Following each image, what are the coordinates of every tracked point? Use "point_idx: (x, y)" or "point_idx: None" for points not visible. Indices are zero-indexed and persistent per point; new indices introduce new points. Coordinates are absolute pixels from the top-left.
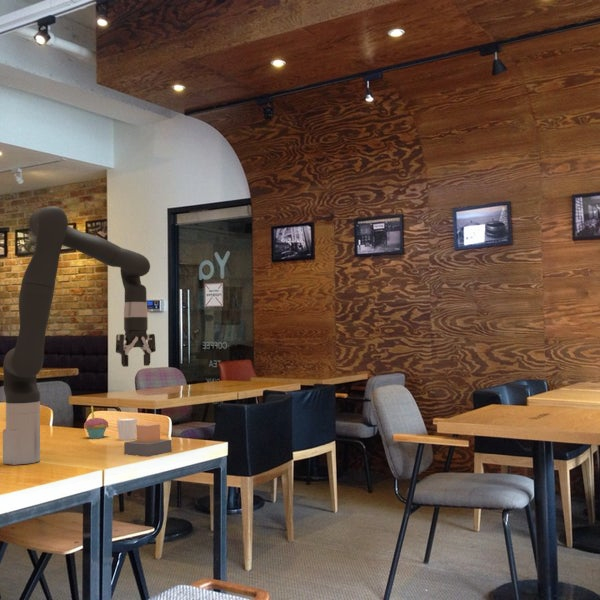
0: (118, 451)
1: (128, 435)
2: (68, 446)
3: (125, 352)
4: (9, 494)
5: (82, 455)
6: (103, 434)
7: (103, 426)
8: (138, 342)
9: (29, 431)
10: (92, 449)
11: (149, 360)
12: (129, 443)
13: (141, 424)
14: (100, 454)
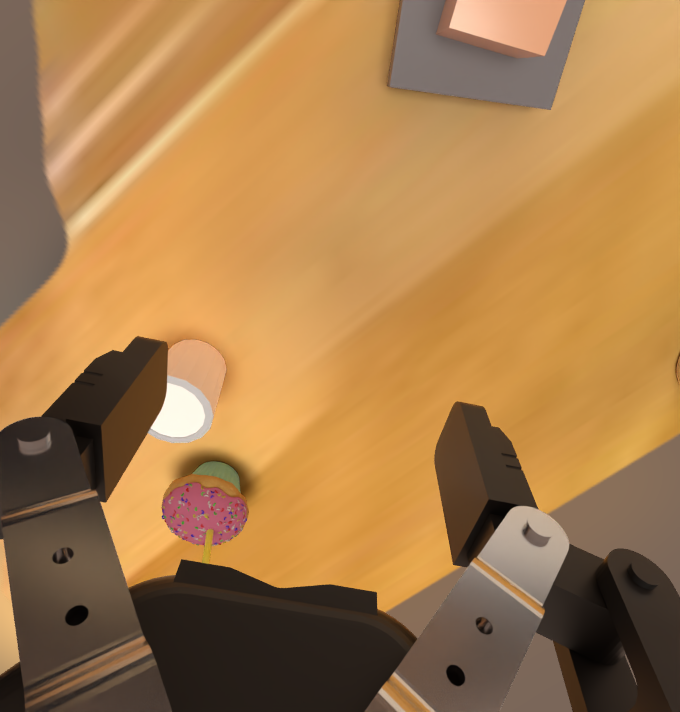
0: (465, 191)
1: (208, 354)
2: (402, 438)
3: (561, 540)
4: None
5: (578, 264)
6: (201, 467)
7: (207, 478)
8: (252, 681)
9: None
10: (441, 325)
11: (113, 363)
12: (563, 66)
13: (513, 42)
14: (548, 211)
